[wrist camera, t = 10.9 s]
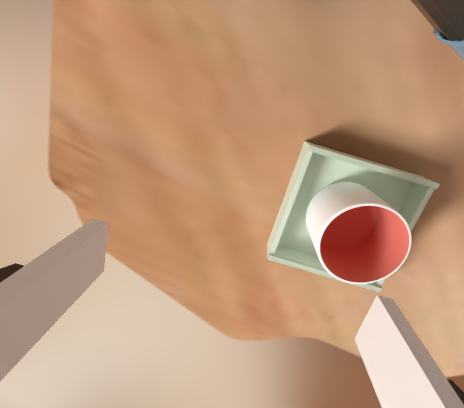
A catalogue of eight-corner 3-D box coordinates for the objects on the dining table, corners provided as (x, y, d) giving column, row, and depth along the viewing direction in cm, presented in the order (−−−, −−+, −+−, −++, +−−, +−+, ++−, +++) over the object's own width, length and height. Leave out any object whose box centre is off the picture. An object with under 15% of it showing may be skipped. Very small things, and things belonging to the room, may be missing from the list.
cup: (392, 200, 40) (432, 230, 30) (349, 256, 43) (374, 298, 34) (329, 166, 39) (351, 186, 30) (291, 226, 42) (300, 260, 33)
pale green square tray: (304, 140, 39) (310, 145, 35) (420, 175, 39) (440, 184, 35) (266, 244, 44) (267, 259, 40) (368, 274, 45) (380, 292, 40)
